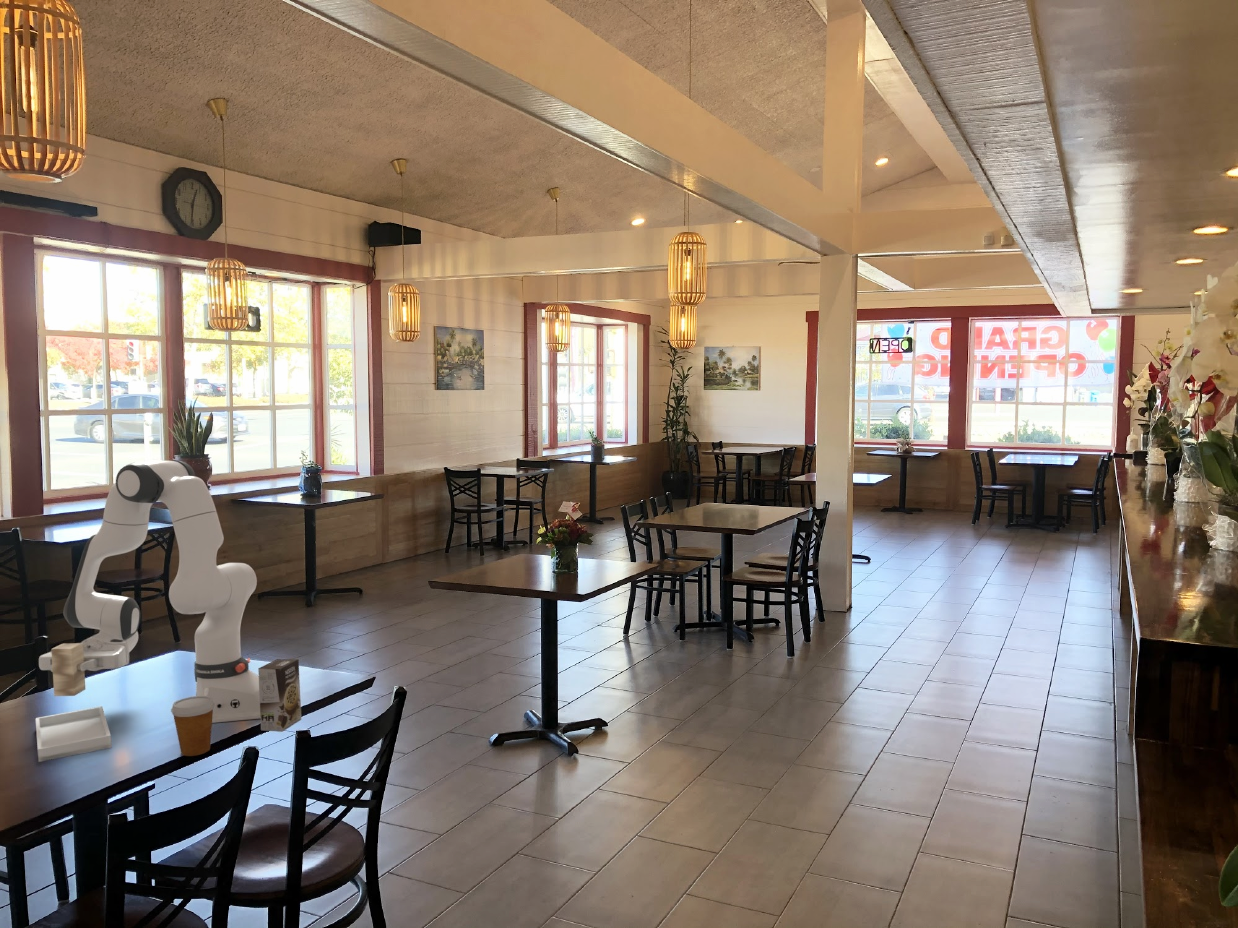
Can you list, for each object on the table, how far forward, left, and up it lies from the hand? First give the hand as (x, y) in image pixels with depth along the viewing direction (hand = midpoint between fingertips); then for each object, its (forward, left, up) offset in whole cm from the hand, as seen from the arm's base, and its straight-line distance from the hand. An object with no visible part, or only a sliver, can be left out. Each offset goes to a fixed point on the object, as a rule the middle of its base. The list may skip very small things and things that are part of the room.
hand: (66, 668), depth 236 cm
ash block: (0, -1, -6) cm, 7 cm away
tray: (-2, +3, -17) cm, 17 cm away
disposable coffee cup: (-37, +14, -17) cm, 43 cm away
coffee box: (-52, -2, -17) cm, 55 cm away
